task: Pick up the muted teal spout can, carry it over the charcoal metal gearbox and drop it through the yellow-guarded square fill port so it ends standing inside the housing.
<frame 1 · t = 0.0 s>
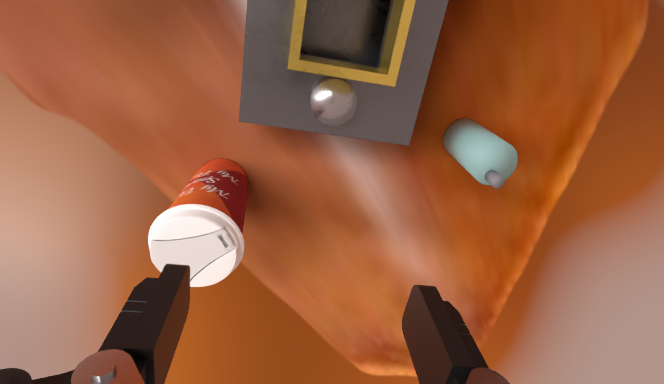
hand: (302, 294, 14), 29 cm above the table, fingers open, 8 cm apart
paper cup: (222, 180, 43), on the table
spout can: (461, 137, 43), on the table
gearbox: (339, 15, 37), on the table
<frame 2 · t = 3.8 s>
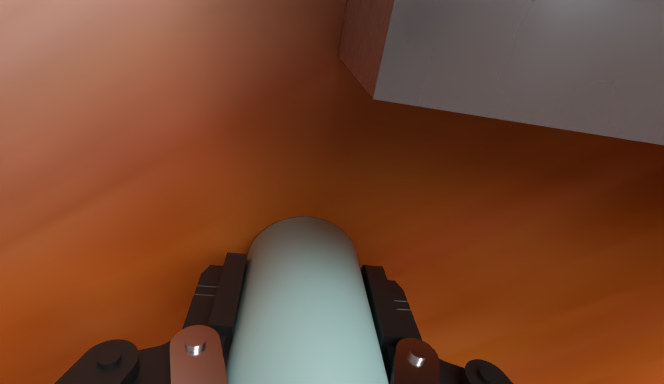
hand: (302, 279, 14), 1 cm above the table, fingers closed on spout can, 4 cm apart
spout can: (302, 264, 15), on the table, touching gripper
when the fingers open (11 cm above the table, at t = 9.4 s): spout can drops 10 cm, resting on gearbox.
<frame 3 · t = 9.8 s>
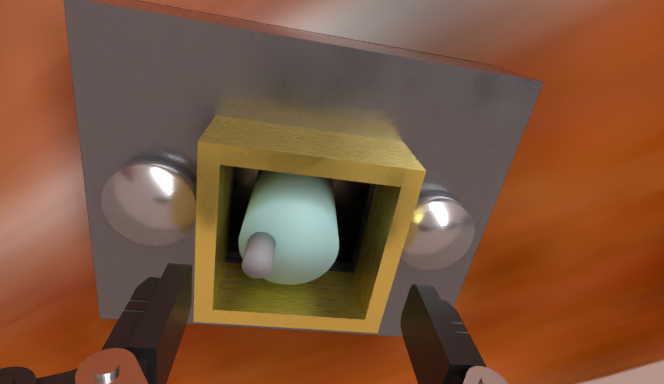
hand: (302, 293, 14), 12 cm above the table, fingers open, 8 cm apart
spout can: (296, 169, 24), point 1 cm above the table, touching gearbox
gearbox: (299, 166, 25), on the table
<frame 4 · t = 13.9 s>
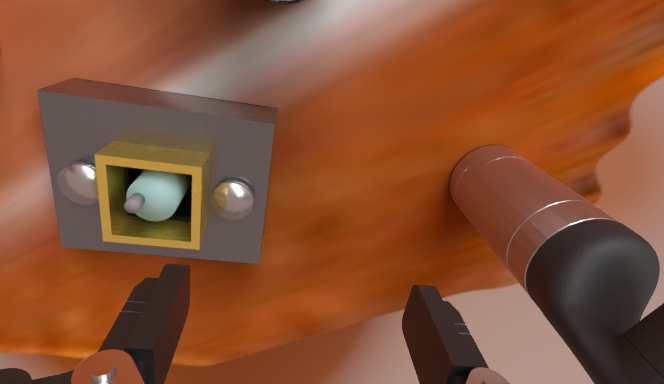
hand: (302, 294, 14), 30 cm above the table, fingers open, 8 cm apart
spout can: (176, 166, 42), point 1 cm above the table, touching gearbox
gearbox: (179, 165, 43), on the table
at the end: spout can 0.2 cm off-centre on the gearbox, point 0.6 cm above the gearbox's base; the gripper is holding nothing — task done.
